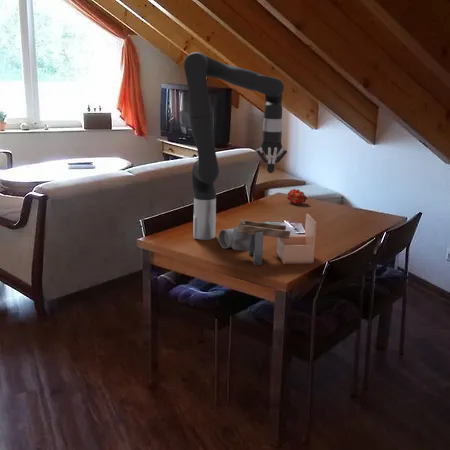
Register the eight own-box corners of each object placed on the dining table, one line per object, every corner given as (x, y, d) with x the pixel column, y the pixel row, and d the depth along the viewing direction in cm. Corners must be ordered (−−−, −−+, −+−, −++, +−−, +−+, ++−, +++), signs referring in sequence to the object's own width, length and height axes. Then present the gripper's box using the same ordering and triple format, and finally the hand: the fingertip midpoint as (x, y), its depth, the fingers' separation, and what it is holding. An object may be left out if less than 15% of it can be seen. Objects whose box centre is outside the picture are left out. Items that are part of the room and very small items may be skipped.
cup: (283, 263, 207) (285, 222, 202) (276, 253, 218) (278, 214, 213) (313, 263, 208) (316, 222, 203) (305, 252, 219) (308, 213, 214)
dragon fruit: (286, 203, 299) (305, 211, 293) (280, 197, 292) (299, 204, 286) (293, 190, 301) (312, 197, 294) (288, 183, 294) (307, 190, 287)
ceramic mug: (244, 247, 224) (245, 229, 222) (228, 250, 219) (228, 232, 217) (229, 240, 232) (229, 223, 230) (213, 244, 227) (213, 226, 225)
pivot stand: (254, 265, 205) (255, 232, 201) (248, 253, 217) (249, 222, 213) (262, 264, 205) (263, 232, 201) (255, 253, 217) (257, 222, 214)
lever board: (233, 250, 204) (238, 224, 202) (228, 236, 220) (232, 212, 217) (285, 256, 208) (290, 231, 205) (276, 242, 223) (281, 218, 220)
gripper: (257, 130, 215) (255, 174, 220) (290, 131, 217) (288, 174, 222) (254, 128, 222) (252, 170, 227) (286, 128, 224) (284, 170, 229)
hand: (270, 172), depth 225 cm, fingers closed
